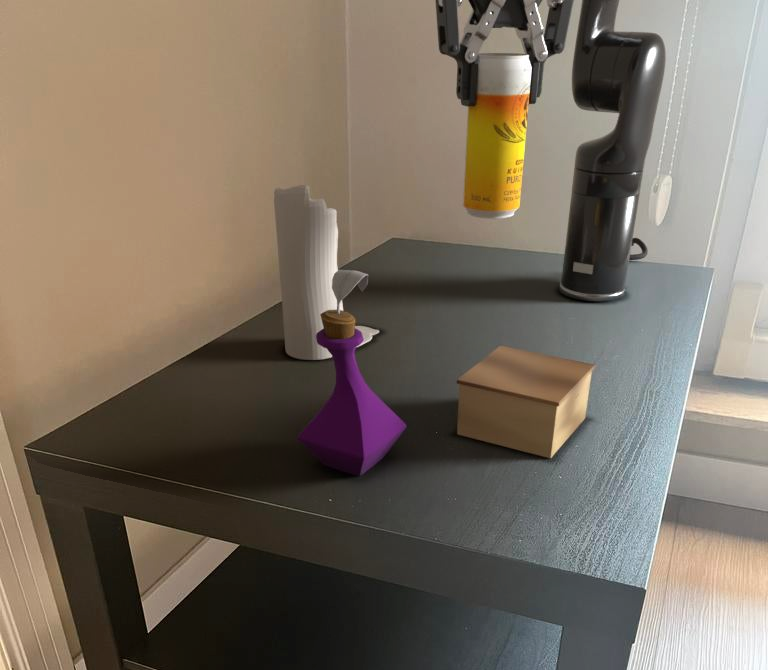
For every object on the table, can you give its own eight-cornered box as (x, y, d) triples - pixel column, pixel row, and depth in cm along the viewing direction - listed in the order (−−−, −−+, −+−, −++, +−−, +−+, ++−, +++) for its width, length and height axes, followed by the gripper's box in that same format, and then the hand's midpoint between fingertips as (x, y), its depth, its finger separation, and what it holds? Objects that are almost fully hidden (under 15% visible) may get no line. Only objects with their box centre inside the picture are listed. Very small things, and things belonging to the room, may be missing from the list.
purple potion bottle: (364, 489, 72) (360, 291, 62) (298, 468, 75) (284, 277, 65) (407, 455, 77) (409, 268, 67) (343, 436, 80) (336, 255, 71)
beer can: (516, 221, 84) (531, 56, 76) (458, 218, 85) (467, 55, 77) (520, 208, 89) (534, 53, 81) (466, 206, 90) (474, 52, 82)
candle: (390, 334, 104) (390, 170, 94) (312, 365, 96) (302, 189, 85) (351, 321, 109) (347, 163, 98) (273, 350, 100) (259, 180, 89)
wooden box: (496, 397, 88) (500, 345, 85) (587, 418, 84) (595, 364, 80) (454, 434, 81) (456, 379, 77) (551, 460, 76) (559, 402, 73)
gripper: (562, -97, 77) (543, 99, 86) (423, -102, 73) (418, 103, 82) (605, -105, 71) (579, 106, 80) (455, -112, 67) (446, 111, 76)
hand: (498, 103), depth 81 cm, fingers closed on beer can, 6 cm apart
